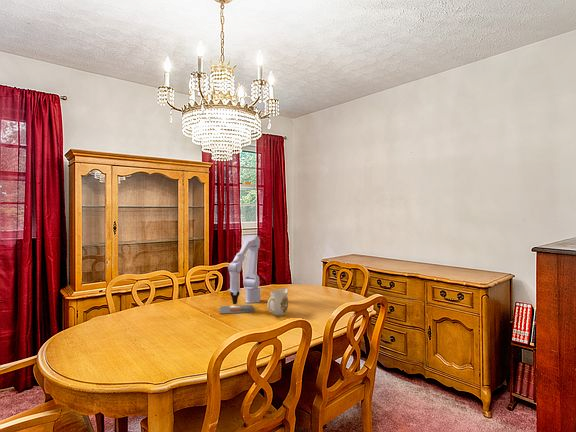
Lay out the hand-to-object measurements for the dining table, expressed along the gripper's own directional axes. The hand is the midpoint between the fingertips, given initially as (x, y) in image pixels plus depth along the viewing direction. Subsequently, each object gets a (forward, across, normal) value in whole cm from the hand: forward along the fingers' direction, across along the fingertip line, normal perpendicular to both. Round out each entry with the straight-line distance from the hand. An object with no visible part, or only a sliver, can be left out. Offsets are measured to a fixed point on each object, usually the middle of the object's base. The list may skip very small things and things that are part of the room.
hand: (234, 303), depth 210 cm
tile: (+2, 0, 0) cm, 2 cm away
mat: (+4, 0, +1) cm, 4 cm away
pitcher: (+4, +13, +25) cm, 28 cm away
